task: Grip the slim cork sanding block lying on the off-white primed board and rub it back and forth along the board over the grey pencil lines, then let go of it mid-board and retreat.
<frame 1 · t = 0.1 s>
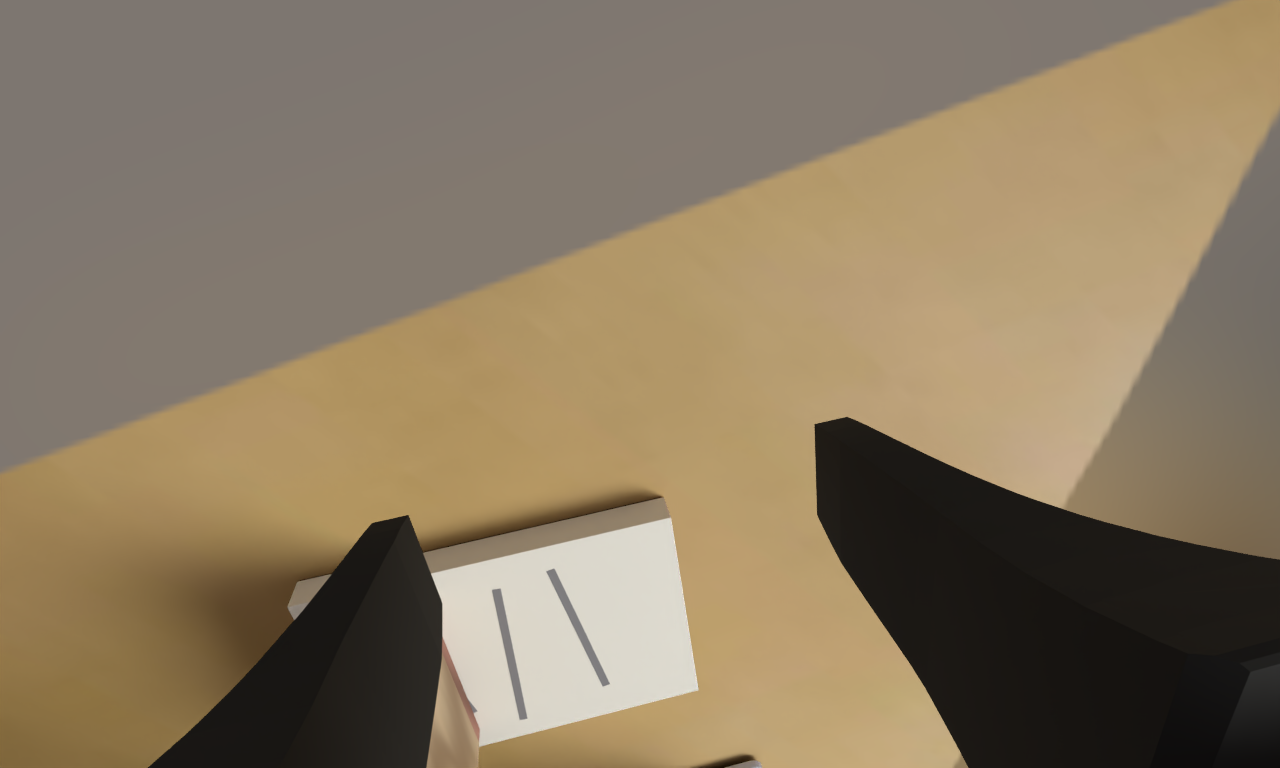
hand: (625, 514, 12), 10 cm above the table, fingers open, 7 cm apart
board: (514, 628, 26), on the table
sanding block: (405, 680, 24), point 1 cm above the table, touching board
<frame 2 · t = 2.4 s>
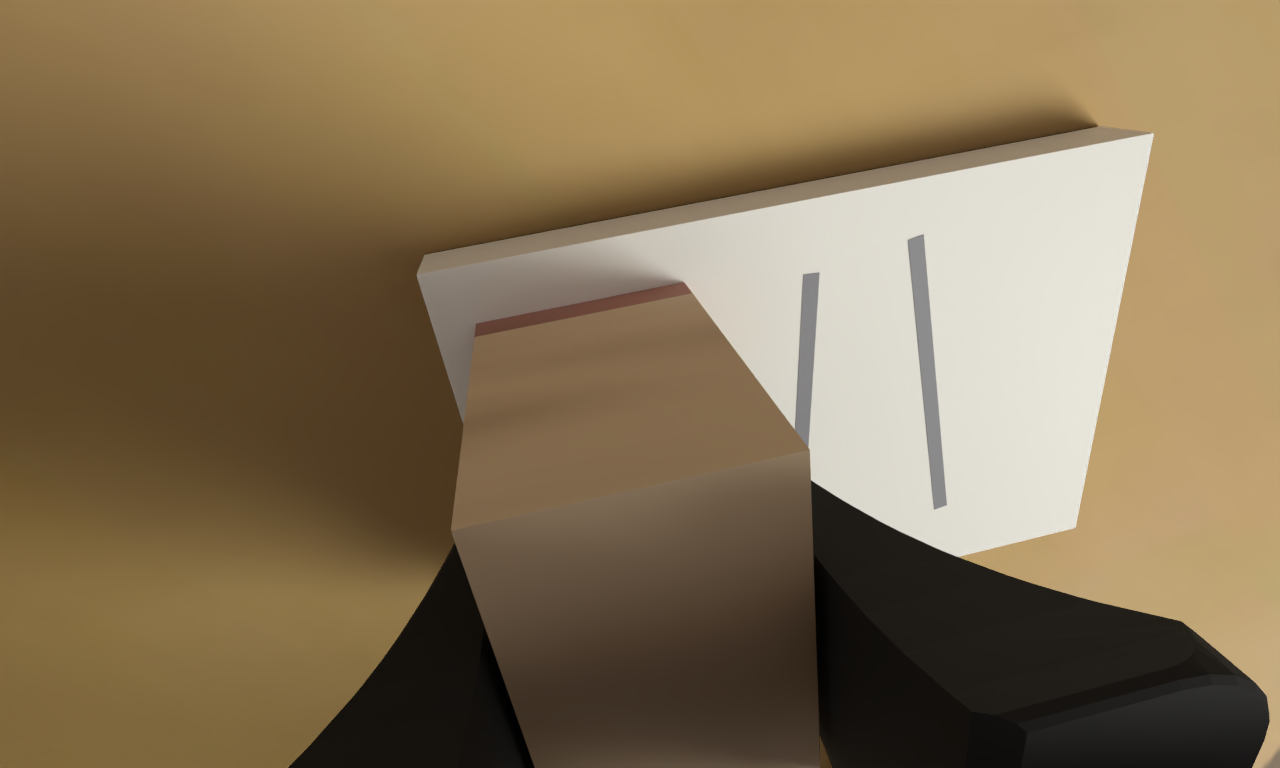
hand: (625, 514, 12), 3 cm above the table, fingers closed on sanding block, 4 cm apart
board: (788, 398, 14), on the table
sanding block: (614, 470, 13), point 1 cm above the table, touching board, gripper
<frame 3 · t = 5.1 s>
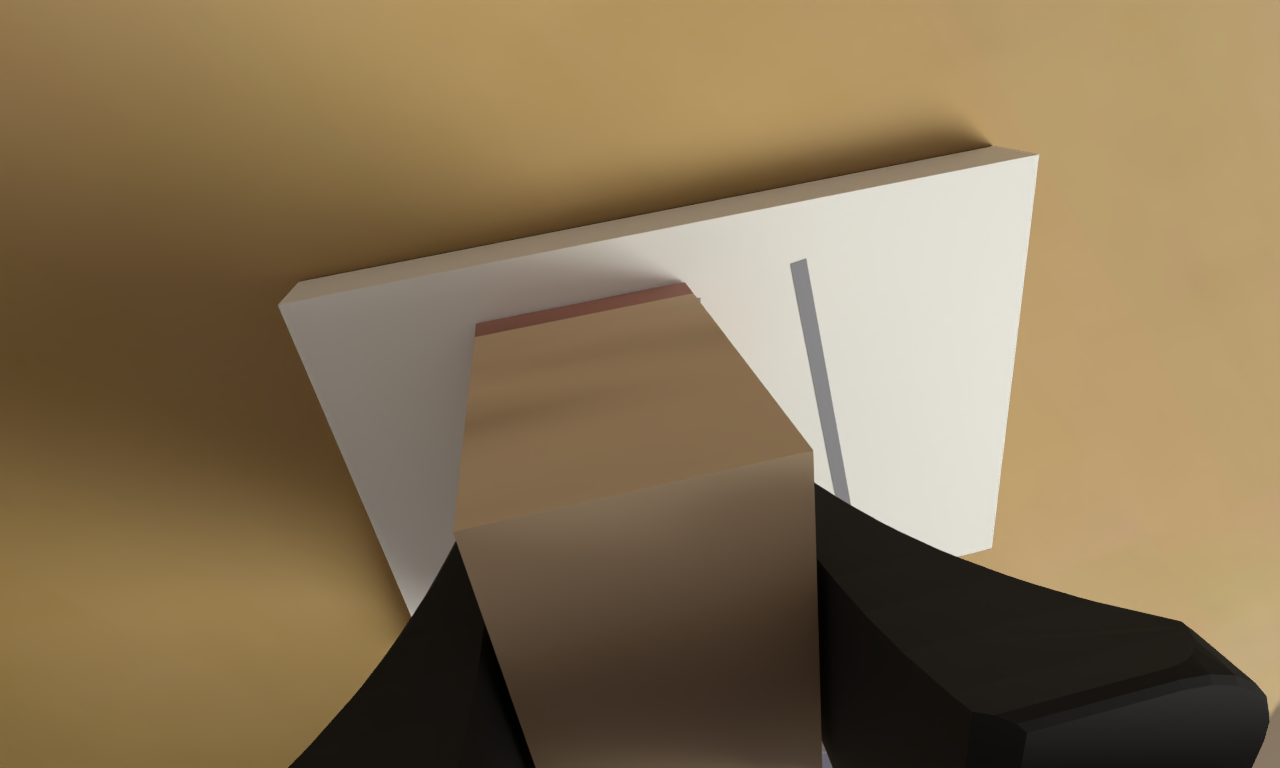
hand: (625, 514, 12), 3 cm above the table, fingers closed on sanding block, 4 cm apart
board: (691, 421, 14), on the table
sanding block: (615, 470, 13), point 1 cm above the table, touching gripper
when the fingers open (3 cm above the table, at t = 7.8 s): sanding block stays where it is, resting on board.
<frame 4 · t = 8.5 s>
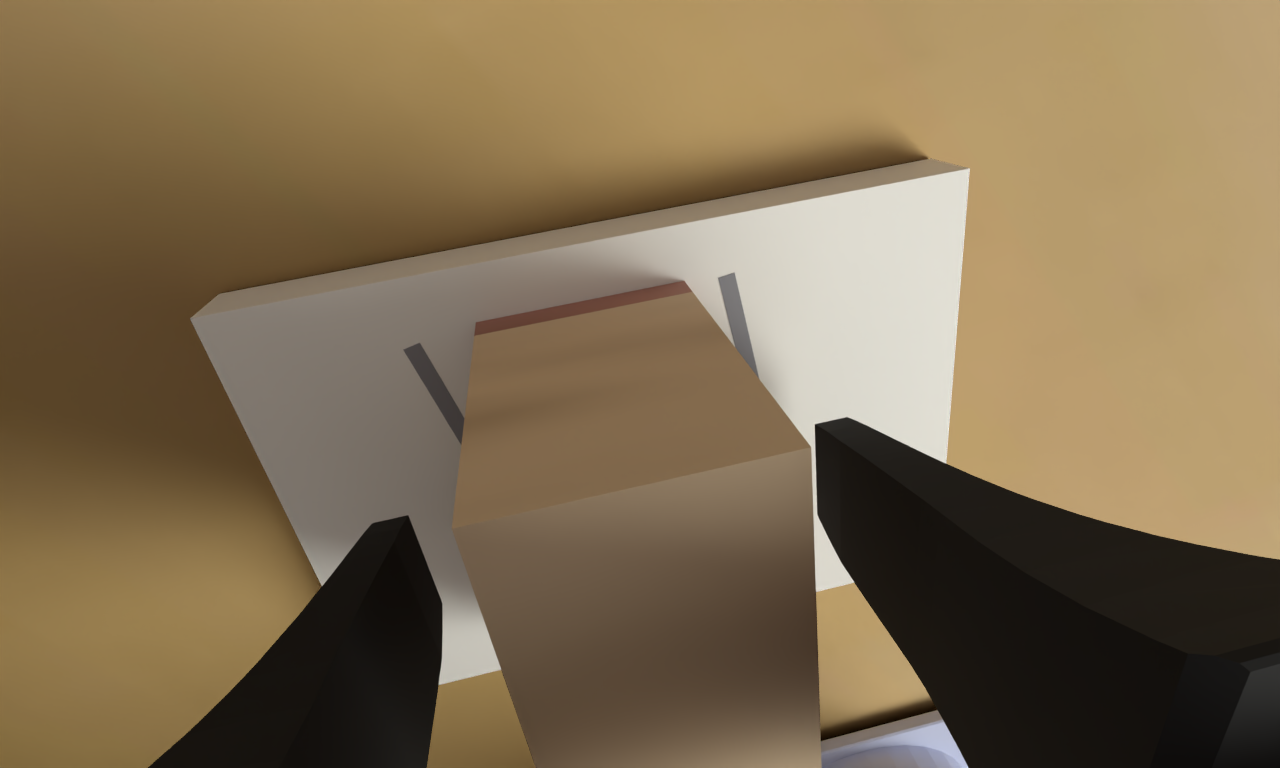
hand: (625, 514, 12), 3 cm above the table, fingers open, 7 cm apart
board: (629, 433, 14), on the table
sanding block: (614, 469, 13), point 1 cm above the table, touching board
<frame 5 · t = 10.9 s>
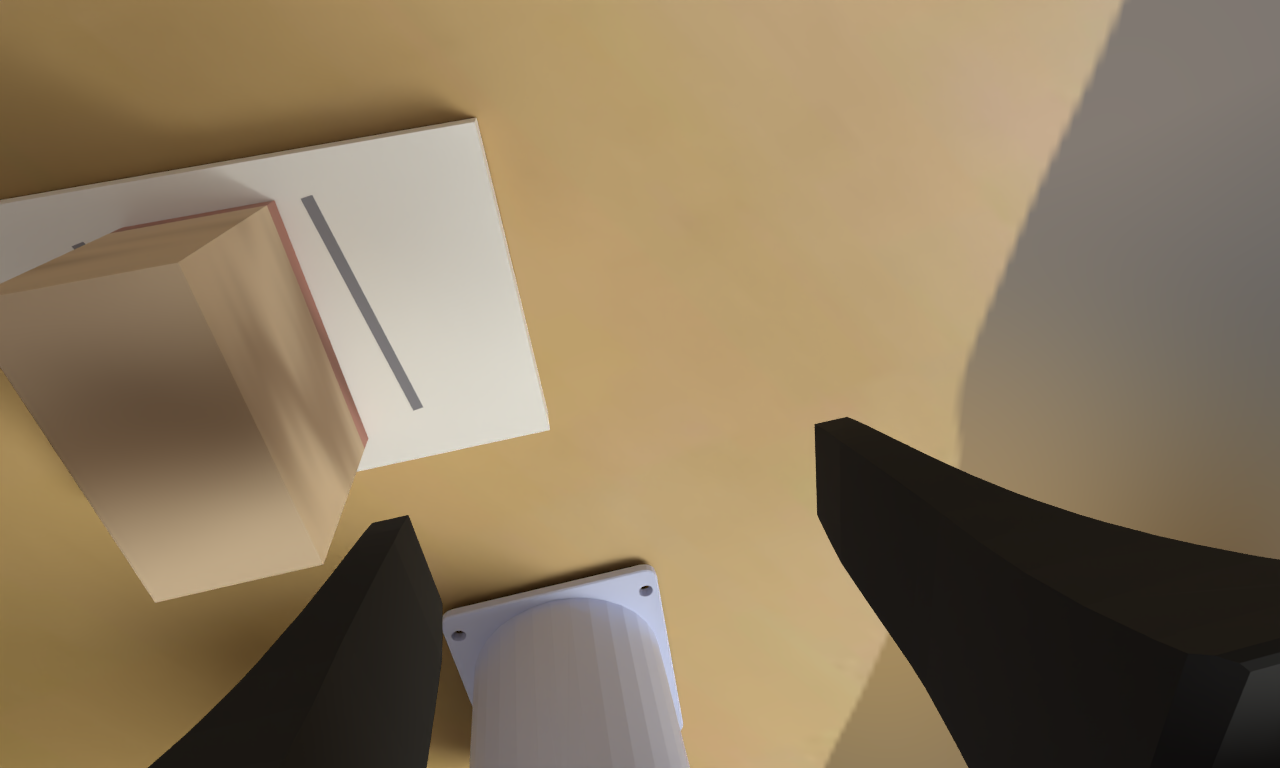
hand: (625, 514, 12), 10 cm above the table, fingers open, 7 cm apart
board: (289, 324, 19), on the table
sanding block: (257, 343, 18), point 1 cm above the table, touching board
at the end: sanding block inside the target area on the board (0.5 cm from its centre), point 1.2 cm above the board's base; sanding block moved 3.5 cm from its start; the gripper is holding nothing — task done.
